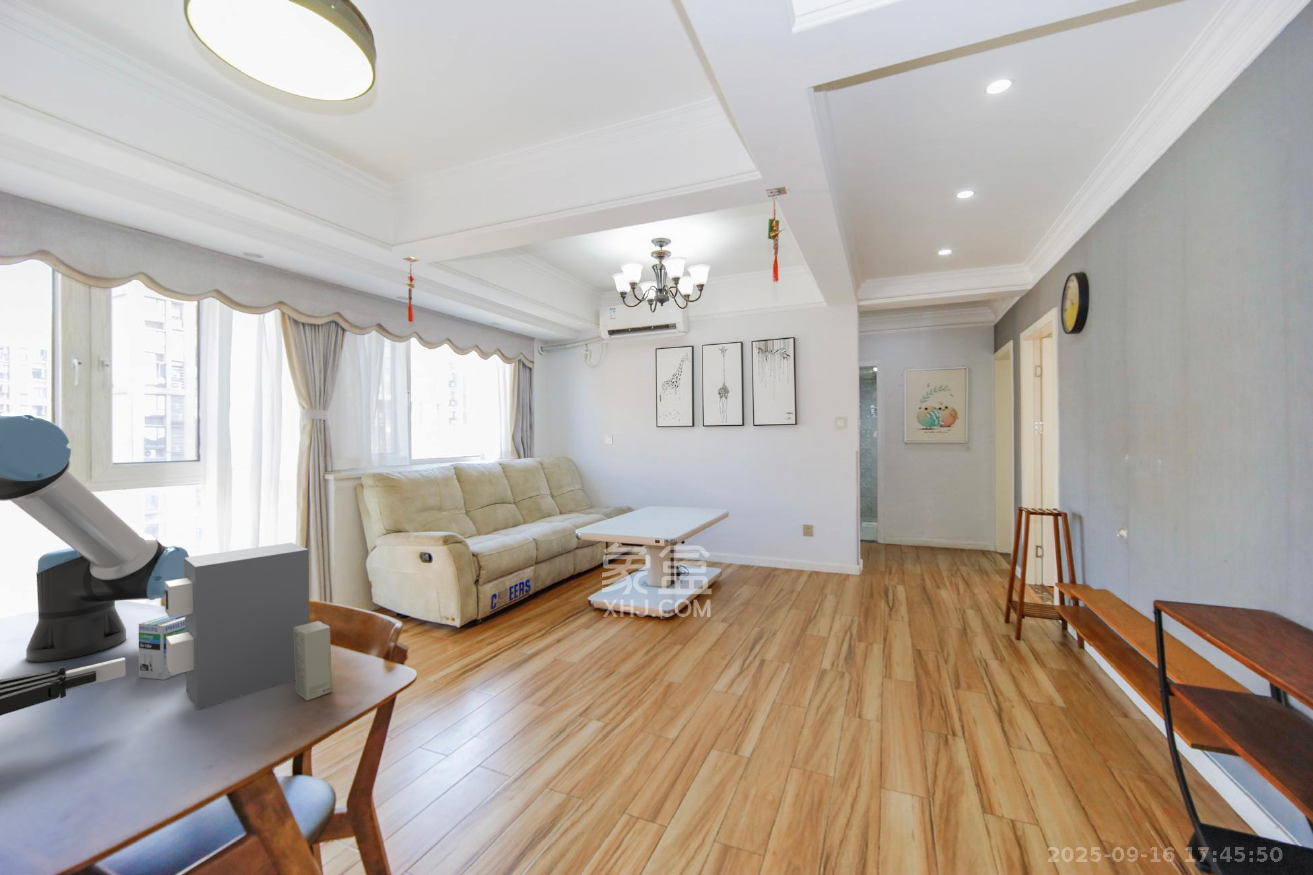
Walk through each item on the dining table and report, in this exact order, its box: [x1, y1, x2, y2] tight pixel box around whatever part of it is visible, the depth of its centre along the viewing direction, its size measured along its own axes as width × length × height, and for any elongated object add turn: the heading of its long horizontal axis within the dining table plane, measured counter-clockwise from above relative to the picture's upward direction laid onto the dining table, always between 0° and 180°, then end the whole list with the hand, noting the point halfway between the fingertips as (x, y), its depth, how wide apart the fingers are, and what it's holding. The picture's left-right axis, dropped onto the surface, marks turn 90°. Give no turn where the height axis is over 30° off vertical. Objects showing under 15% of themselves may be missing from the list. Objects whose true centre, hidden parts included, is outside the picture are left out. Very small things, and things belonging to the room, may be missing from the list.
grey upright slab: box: [184, 542, 311, 711], centre depth 100 cm, size 11×17×25 cm, turn 140°
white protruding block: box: [164, 578, 193, 618], centre depth 93 cm, size 5×6×5 cm
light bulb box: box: [138, 614, 185, 681], centre depth 107 cm, size 11×7×11 cm, turn 168°
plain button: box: [166, 632, 194, 676], centre depth 93 cm, size 5×6×5 cm
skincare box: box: [293, 620, 333, 701], centre depth 96 cm, size 6×4×12 cm
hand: (124, 666), depth 87 cm, fingers closed
